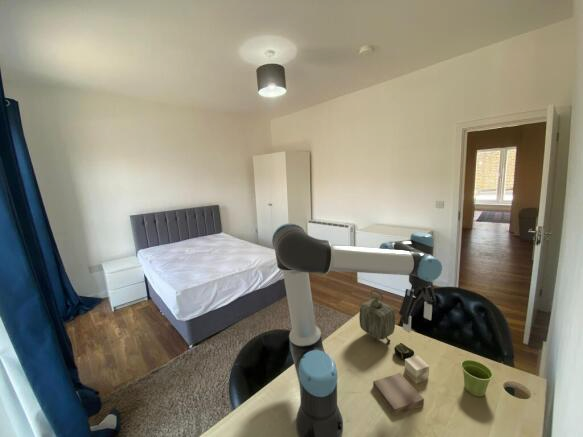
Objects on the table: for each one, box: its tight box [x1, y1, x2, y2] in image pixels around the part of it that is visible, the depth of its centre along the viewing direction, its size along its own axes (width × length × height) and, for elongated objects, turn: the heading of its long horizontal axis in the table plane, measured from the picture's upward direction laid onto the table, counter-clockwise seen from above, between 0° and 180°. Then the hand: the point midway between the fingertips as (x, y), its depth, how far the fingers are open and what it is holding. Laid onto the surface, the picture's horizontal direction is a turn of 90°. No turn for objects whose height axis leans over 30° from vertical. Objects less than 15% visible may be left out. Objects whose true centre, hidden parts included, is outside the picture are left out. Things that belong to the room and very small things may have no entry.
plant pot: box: [460, 359, 494, 397], centre depth 91 cm, size 9×9×9 cm
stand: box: [372, 372, 425, 417], centre depth 91 cm, size 12×12×2 cm
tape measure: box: [394, 342, 415, 361], centre depth 110 cm, size 7×7×4 cm
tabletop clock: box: [358, 289, 396, 344], centre depth 119 cm, size 14×9×25 cm, turn 34°
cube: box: [404, 355, 430, 384], centre depth 99 cm, size 6×6×6 cm
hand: (417, 324), depth 98 cm, fingers open, 13 cm apart
